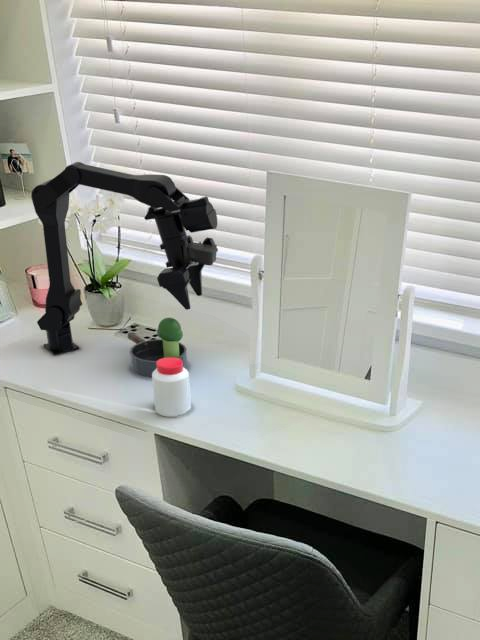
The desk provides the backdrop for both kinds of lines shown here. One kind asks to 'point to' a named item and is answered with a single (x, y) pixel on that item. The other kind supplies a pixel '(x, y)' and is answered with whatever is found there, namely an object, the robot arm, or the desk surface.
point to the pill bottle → (171, 387)
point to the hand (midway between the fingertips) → (194, 302)
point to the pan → (151, 356)
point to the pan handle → (136, 339)
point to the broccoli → (170, 336)
